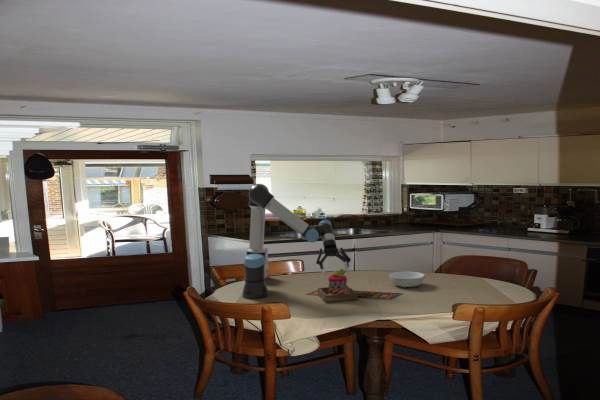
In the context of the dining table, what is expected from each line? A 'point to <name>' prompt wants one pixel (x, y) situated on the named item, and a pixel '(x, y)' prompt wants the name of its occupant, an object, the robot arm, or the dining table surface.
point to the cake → (337, 283)
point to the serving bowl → (407, 278)
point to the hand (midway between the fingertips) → (336, 272)
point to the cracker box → (266, 263)
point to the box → (337, 295)
